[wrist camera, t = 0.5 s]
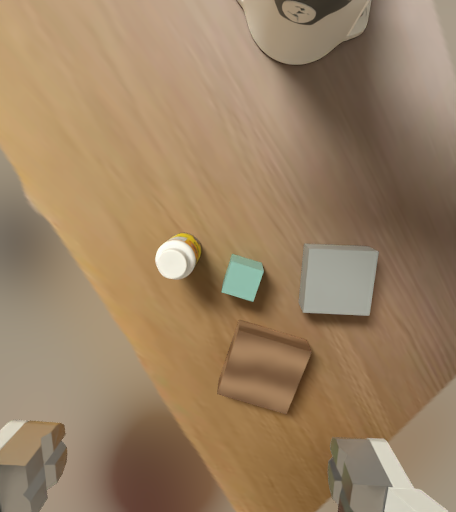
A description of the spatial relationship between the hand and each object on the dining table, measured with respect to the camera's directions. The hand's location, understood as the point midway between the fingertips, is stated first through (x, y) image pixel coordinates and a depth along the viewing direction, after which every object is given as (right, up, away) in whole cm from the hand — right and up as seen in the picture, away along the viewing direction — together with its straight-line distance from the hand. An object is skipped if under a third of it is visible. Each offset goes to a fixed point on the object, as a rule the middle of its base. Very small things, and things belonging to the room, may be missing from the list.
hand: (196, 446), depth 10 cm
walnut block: (+7, -12, +46) cm, 48 cm away
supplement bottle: (-6, +7, +42) cm, 43 cm away
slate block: (+18, +3, +42) cm, 45 cm away
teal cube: (+3, +3, +42) cm, 43 cm away
